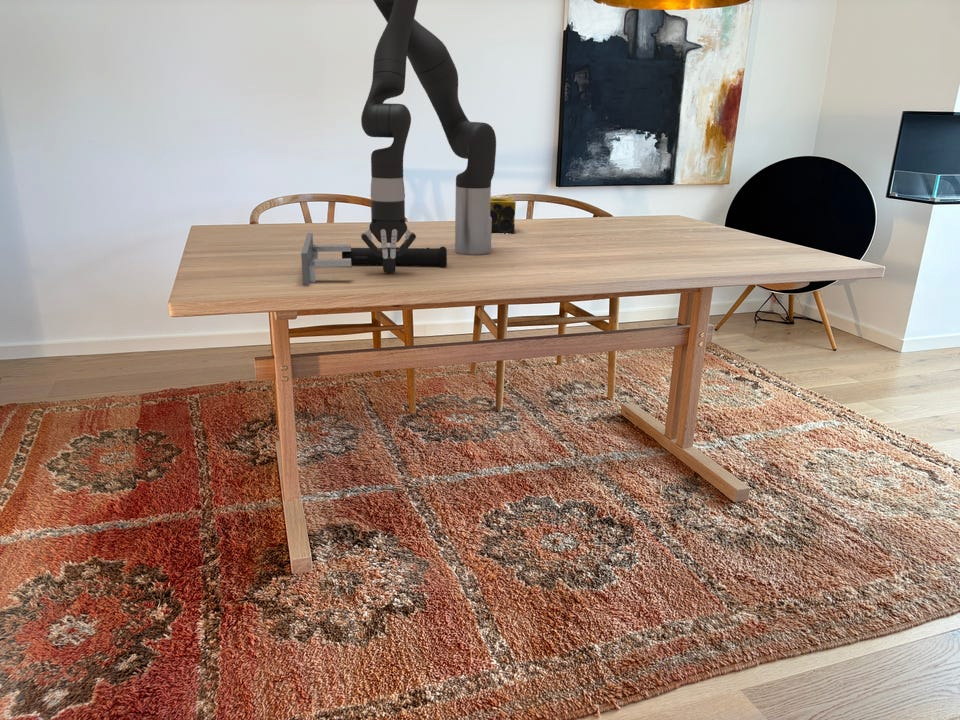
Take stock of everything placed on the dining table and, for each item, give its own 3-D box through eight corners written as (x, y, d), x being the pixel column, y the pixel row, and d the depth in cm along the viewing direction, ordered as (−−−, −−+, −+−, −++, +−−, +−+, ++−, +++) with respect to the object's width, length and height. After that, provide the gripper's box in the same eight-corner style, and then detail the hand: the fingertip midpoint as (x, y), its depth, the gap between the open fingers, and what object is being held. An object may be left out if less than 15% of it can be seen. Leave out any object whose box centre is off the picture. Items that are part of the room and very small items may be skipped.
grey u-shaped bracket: (351, 267, 176) (350, 244, 174) (352, 286, 159) (351, 260, 157) (313, 268, 175) (312, 244, 173) (309, 287, 158) (308, 261, 156)
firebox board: (315, 265, 178) (313, 233, 175) (310, 290, 155) (308, 253, 153) (309, 265, 177) (307, 233, 175) (303, 290, 155) (301, 253, 152)
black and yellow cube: (478, 228, 233) (479, 197, 230) (510, 228, 234) (511, 197, 231) (482, 234, 224) (483, 201, 220) (514, 234, 225) (516, 201, 221)
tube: (446, 266, 181) (446, 244, 179) (446, 271, 176) (447, 248, 174) (344, 266, 180) (343, 243, 178) (342, 271, 174) (341, 248, 172)
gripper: (415, 195, 168) (416, 269, 173) (357, 195, 165) (359, 270, 171) (419, 200, 161) (419, 277, 166) (358, 200, 158) (360, 278, 164)
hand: (389, 273), depth 169 cm, fingers closed
